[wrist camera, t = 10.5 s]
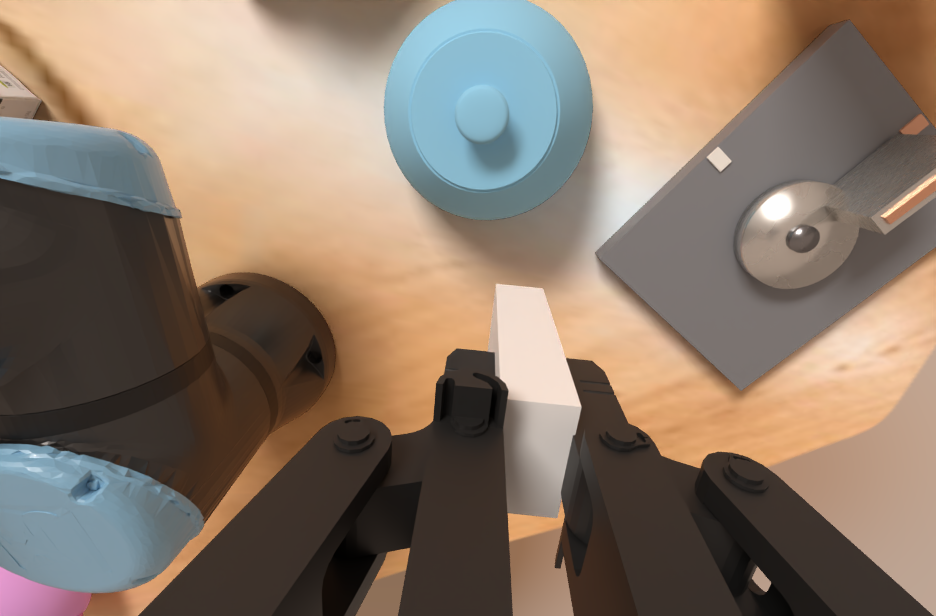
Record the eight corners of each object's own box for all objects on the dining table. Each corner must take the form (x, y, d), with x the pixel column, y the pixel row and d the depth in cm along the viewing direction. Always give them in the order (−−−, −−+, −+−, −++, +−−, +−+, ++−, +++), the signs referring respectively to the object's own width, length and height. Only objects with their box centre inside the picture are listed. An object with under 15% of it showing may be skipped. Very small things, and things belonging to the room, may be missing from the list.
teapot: (155, 579, 59) (73, 686, 48) (104, 626, 64) (18, 735, 53) (11, 487, 55) (-116, 581, 44) (-34, 544, 59) (-159, 643, 48)
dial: (773, 301, 38) (822, 334, 32) (712, 235, 36) (751, 256, 30) (932, 181, 34) (1020, 194, 28) (870, 100, 32) (951, 95, 26)
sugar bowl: (417, 227, 40) (385, 266, 29) (372, 30, 35) (312, -10, 24) (595, 195, 38) (630, 225, 27) (575, -19, 33) (610, -87, 22)
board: (730, 379, 43) (742, 392, 41) (595, 252, 40) (600, 259, 38) (969, 199, 36) (997, 203, 34) (829, 25, 32) (851, 18, 30)
